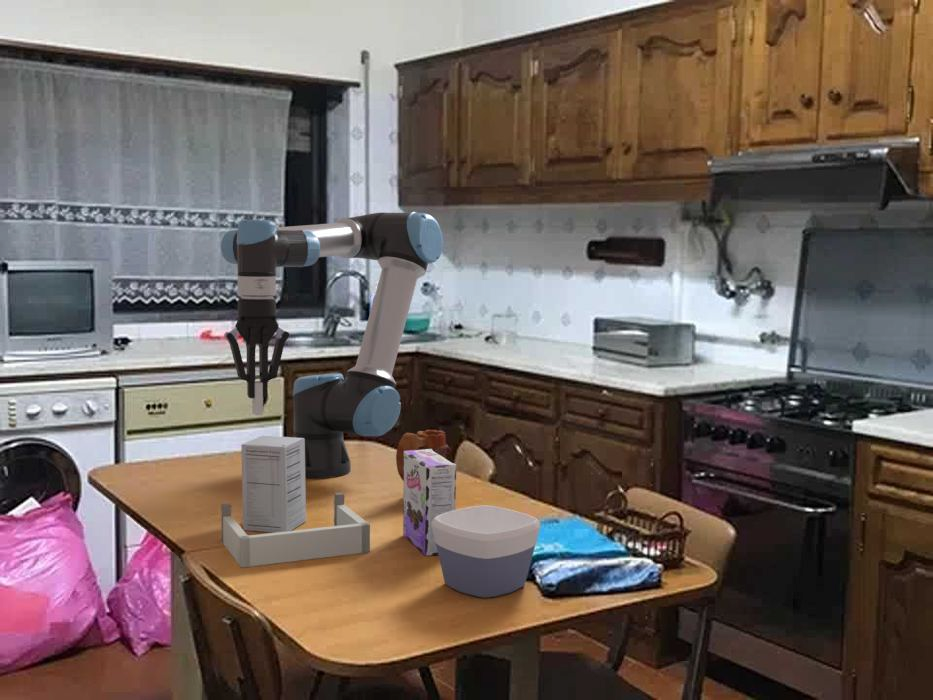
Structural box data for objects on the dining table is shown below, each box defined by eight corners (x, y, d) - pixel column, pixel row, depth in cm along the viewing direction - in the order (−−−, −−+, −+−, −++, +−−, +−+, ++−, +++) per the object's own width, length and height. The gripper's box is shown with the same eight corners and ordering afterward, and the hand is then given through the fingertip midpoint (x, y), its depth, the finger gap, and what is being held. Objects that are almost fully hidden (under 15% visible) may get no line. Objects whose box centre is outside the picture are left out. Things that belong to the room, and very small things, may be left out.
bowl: (418, 584, 170) (418, 517, 169) (484, 564, 181) (485, 501, 179) (485, 609, 159) (486, 538, 158) (551, 586, 170) (553, 519, 168)
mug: (430, 489, 231) (430, 423, 230) (458, 496, 226) (459, 428, 224) (384, 502, 220) (384, 432, 218) (412, 509, 215) (413, 437, 213)
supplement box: (307, 521, 205) (307, 437, 203) (287, 534, 196) (286, 446, 194) (263, 517, 207) (262, 434, 205) (241, 530, 199) (240, 443, 197)
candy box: (401, 535, 197) (402, 449, 195) (431, 532, 199) (432, 447, 197) (424, 556, 184) (425, 465, 182) (456, 553, 186) (457, 463, 184)
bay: (221, 541, 191) (221, 503, 190) (341, 527, 201) (341, 492, 200) (241, 567, 177) (240, 527, 176) (369, 551, 186) (370, 513, 185)
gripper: (228, 299, 202) (229, 418, 205) (293, 298, 208) (294, 415, 210) (220, 296, 209) (221, 412, 212) (284, 295, 215) (284, 409, 217)
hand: (257, 413), depth 211 cm, fingers closed
